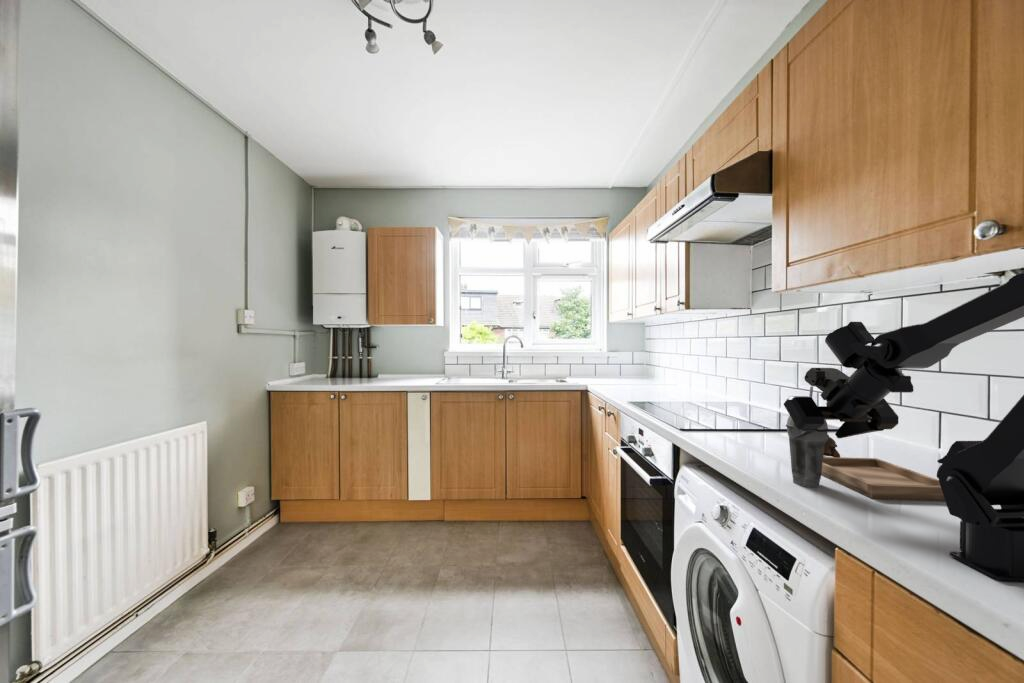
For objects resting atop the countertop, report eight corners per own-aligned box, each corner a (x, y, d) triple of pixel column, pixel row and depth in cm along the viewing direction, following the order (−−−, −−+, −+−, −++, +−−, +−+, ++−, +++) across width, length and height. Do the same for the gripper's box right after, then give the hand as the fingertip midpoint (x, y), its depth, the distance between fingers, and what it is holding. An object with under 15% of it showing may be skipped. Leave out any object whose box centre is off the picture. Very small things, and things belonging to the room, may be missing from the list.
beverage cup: (776, 479, 91) (778, 385, 91) (802, 476, 94) (804, 384, 94) (809, 491, 84) (811, 388, 84) (836, 487, 87) (838, 388, 87)
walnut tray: (961, 501, 80) (961, 488, 80) (871, 498, 81) (871, 485, 81) (876, 469, 100) (876, 458, 100) (804, 467, 101) (804, 456, 101)
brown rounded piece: (853, 467, 103) (842, 438, 102) (813, 481, 105) (802, 454, 103) (821, 442, 115) (811, 416, 113) (786, 456, 117) (776, 431, 115)
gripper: (885, 354, 82) (836, 403, 93) (791, 353, 81) (753, 403, 92) (927, 402, 74) (868, 449, 85) (824, 402, 73) (778, 450, 84)
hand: (815, 436), depth 87 cm, fingers open, 9 cm apart
